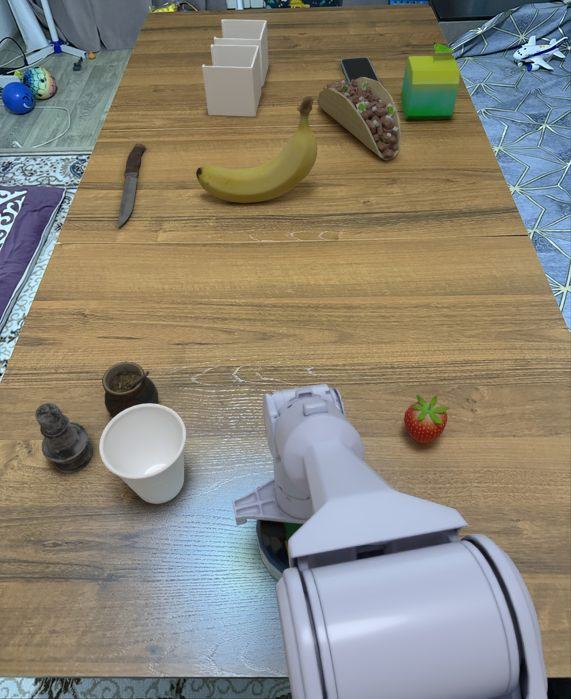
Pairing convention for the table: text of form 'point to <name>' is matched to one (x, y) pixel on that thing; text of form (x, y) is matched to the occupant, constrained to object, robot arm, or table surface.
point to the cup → (146, 450)
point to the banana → (267, 168)
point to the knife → (130, 182)
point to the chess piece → (63, 439)
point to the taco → (364, 113)
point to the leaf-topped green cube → (430, 85)
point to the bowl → (272, 553)
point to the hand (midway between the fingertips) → (302, 527)
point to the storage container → (237, 68)
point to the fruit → (425, 419)
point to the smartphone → (358, 68)
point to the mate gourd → (127, 387)
